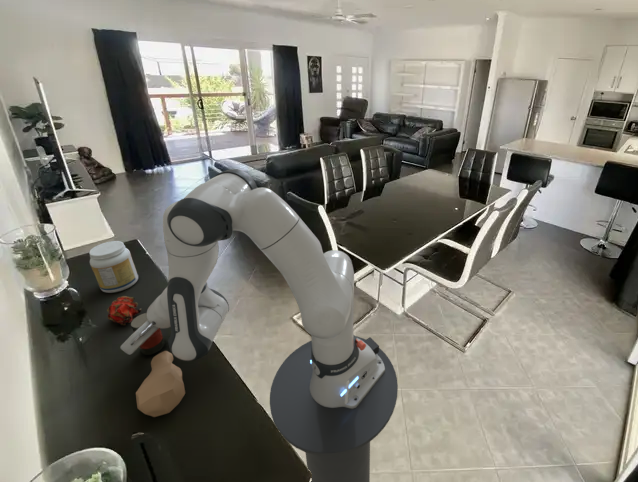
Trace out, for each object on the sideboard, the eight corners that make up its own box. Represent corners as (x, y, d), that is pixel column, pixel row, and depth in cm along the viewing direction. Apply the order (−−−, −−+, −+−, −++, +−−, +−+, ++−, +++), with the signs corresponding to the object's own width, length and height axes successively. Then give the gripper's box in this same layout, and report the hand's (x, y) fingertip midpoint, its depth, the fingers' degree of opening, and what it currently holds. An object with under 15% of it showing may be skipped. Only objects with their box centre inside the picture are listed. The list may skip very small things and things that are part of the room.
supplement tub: (105, 279, 130) (91, 243, 123) (141, 272, 135) (129, 237, 128) (96, 298, 120) (80, 260, 113) (135, 289, 125) (122, 252, 118)
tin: (162, 336, 103) (153, 309, 99) (166, 347, 99) (157, 320, 95) (139, 346, 100) (129, 319, 95) (143, 358, 95) (132, 331, 91)
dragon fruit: (126, 311, 116) (135, 333, 109) (98, 310, 109) (105, 334, 102) (138, 291, 116) (147, 311, 109) (111, 289, 109) (118, 311, 102)
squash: (143, 434, 77) (124, 410, 73) (145, 379, 93) (130, 357, 90) (191, 405, 82) (176, 380, 78) (185, 357, 98) (172, 335, 94)
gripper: (146, 347, 83) (125, 368, 88) (198, 294, 101) (178, 315, 107) (125, 331, 82) (105, 354, 87) (182, 281, 100) (163, 302, 106)
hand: (146, 332), depth 97 cm, fingers closed on tin, 6 cm apart
